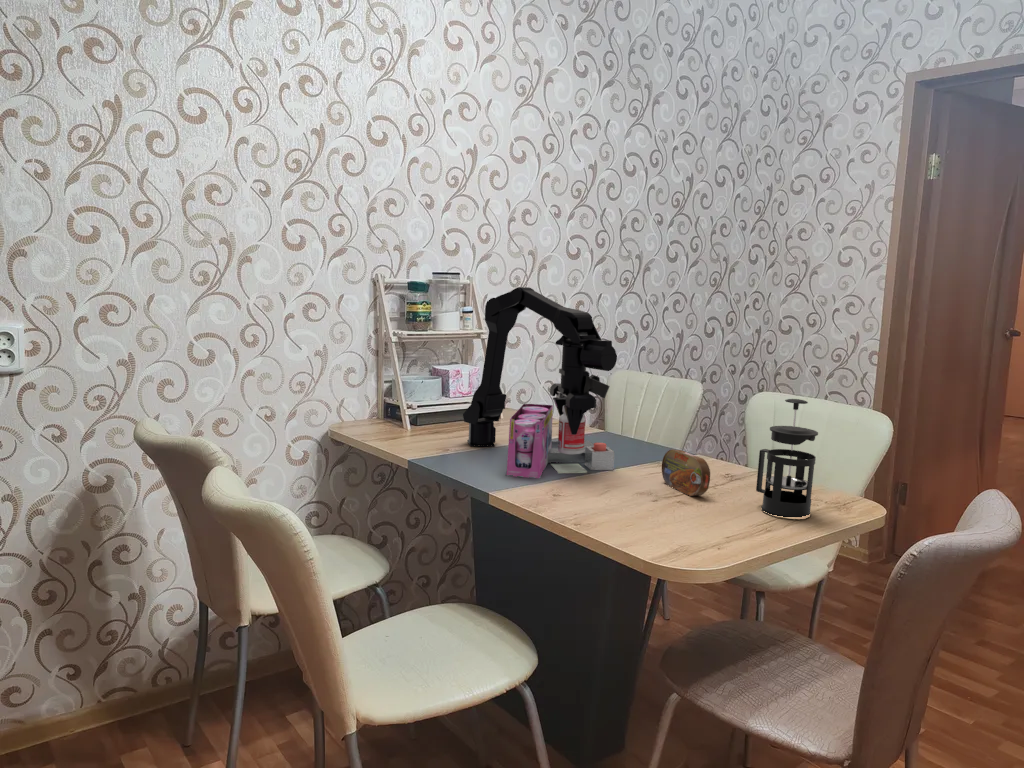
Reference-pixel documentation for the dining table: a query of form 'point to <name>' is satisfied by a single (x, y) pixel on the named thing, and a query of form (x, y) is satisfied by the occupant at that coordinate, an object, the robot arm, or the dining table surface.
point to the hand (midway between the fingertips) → (570, 431)
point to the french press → (787, 500)
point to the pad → (568, 468)
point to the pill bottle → (570, 436)
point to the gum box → (529, 440)
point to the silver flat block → (566, 458)
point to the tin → (686, 472)
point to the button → (599, 447)
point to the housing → (599, 458)
